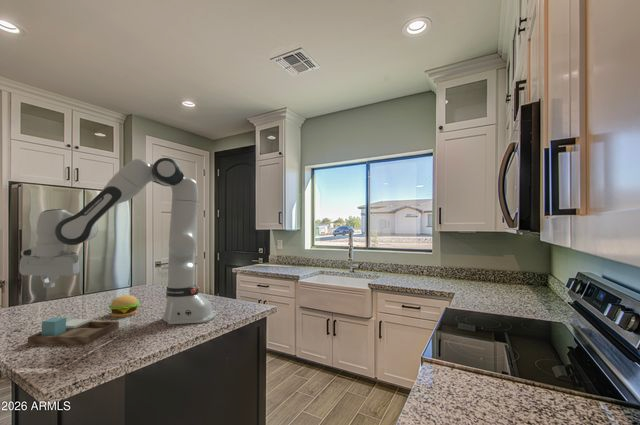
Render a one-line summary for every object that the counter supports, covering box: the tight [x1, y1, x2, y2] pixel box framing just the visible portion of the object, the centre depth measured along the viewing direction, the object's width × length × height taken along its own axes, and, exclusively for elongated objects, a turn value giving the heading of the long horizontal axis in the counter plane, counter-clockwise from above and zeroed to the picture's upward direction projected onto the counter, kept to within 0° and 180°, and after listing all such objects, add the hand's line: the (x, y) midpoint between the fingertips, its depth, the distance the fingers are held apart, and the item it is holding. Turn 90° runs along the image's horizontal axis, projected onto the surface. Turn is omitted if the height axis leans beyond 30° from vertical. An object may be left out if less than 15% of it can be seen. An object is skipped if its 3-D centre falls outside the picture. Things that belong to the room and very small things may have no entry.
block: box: [41, 316, 66, 336], centre depth 103 cm, size 4×4×7 cm
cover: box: [63, 314, 91, 328], centre depth 110 cm, size 8×8×3 cm
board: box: [27, 320, 120, 346], centre depth 107 cm, size 20×16×4 cm
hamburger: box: [108, 294, 141, 318], centre depth 135 cm, size 12×12×9 cm
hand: (49, 287), depth 111 cm, fingers closed
